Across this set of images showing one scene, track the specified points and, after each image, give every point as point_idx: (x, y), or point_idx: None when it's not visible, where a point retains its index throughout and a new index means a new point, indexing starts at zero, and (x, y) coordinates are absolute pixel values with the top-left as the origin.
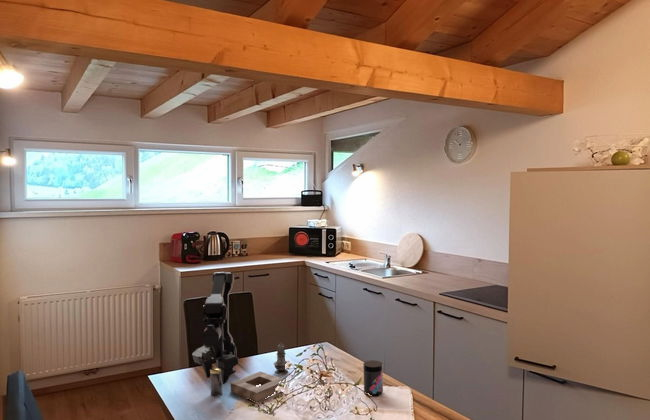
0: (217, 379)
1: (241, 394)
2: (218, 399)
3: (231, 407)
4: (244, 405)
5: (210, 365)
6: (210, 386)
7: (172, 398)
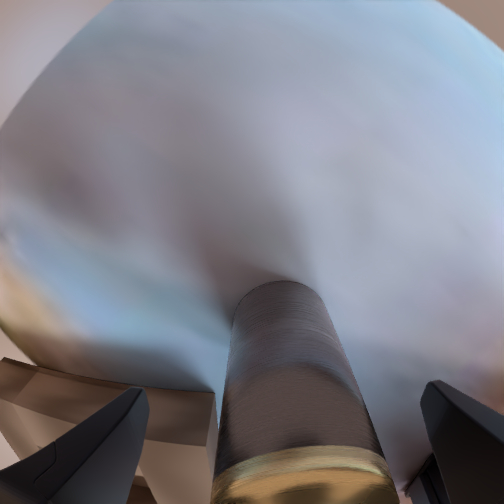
0: (222, 412)
1: (99, 390)
2: (177, 272)
3: (17, 244)
4: (6, 307)
5: (465, 498)
6: (326, 327)
7: (481, 73)
